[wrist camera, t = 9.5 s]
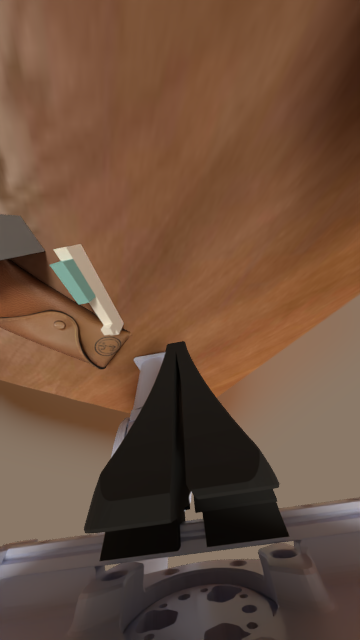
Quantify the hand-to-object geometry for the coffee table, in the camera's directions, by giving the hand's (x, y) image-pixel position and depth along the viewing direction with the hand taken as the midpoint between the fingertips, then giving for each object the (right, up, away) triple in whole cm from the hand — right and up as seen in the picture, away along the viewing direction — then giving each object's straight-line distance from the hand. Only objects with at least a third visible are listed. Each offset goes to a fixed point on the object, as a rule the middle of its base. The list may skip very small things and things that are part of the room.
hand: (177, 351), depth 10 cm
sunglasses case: (-17, +3, +9) cm, 19 cm away
